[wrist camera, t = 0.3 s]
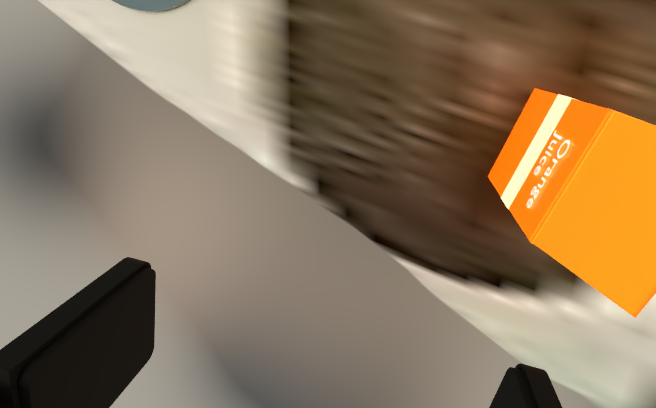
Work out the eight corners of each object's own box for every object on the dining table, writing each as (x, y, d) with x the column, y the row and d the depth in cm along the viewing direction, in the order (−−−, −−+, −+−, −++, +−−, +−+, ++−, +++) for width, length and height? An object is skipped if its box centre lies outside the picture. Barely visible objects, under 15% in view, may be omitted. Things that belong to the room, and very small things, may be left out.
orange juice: (485, 176, 38) (558, 291, 20) (533, 86, 35) (674, 124, 17) (564, 206, 38) (711, 350, 20) (620, 118, 35) (861, 193, 16)
